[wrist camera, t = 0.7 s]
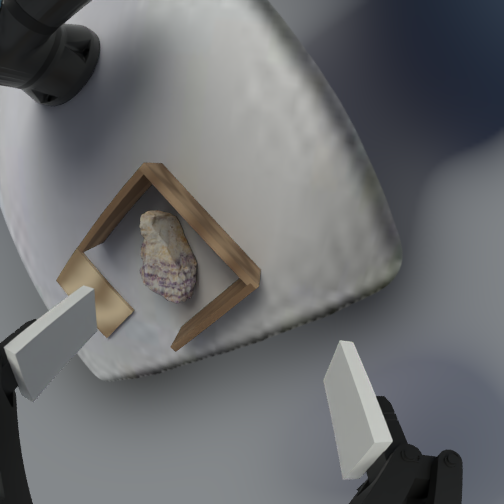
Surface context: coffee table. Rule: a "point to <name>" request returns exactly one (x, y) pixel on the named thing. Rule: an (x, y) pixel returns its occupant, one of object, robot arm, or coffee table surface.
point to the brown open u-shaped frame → (199, 223)
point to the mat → (106, 297)
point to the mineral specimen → (166, 257)
